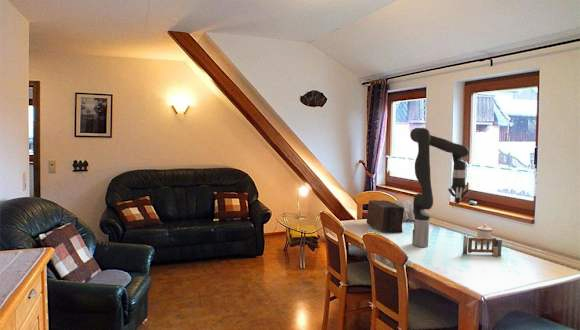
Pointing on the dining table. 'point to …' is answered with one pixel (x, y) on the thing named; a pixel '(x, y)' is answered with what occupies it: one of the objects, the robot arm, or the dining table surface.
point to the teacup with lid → (484, 232)
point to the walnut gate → (481, 244)
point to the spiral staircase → (407, 209)
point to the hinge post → (465, 245)
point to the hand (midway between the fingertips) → (457, 203)
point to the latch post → (497, 248)
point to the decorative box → (385, 216)
